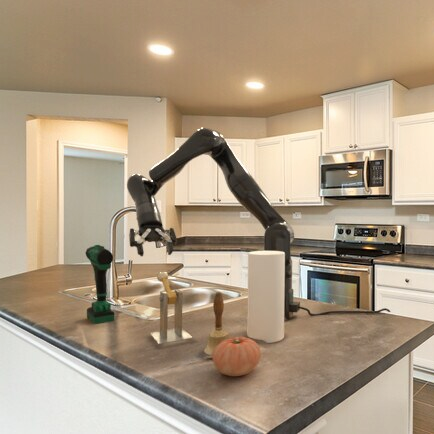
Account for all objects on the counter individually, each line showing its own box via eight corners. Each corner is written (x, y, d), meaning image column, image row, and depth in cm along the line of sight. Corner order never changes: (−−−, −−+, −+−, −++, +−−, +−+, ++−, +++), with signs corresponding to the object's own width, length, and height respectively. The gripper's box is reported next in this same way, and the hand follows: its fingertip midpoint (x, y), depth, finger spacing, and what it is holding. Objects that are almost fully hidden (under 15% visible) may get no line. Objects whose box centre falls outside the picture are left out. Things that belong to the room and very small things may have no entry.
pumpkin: (213, 365, 91) (214, 332, 91) (259, 361, 94) (259, 329, 94) (210, 385, 81) (211, 347, 81) (262, 380, 83) (262, 344, 83)
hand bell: (235, 358, 96) (236, 295, 96) (201, 361, 94) (201, 296, 93) (233, 347, 104) (234, 288, 104) (201, 349, 101) (202, 290, 101)
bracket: (149, 337, 111) (150, 289, 111) (181, 331, 116) (181, 286, 116) (158, 348, 102) (159, 297, 102) (192, 341, 108) (193, 293, 107)
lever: (155, 278, 118) (156, 269, 117) (166, 277, 120) (167, 268, 119) (165, 306, 108) (167, 296, 107) (177, 304, 110) (178, 295, 108)
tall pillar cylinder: (282, 330, 118) (283, 250, 118) (285, 342, 108) (286, 254, 108) (247, 332, 117) (248, 250, 116) (246, 344, 106) (247, 254, 106)
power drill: (94, 327, 119) (94, 247, 119) (78, 309, 141) (78, 241, 140) (114, 324, 123) (115, 247, 122) (96, 307, 144) (96, 241, 144)
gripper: (127, 210, 127) (133, 247, 117) (172, 210, 135) (181, 245, 126) (124, 225, 131) (130, 262, 122) (168, 225, 139) (176, 259, 130)
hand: (156, 254), depth 124 cm, fingers open, 8 cm apart
